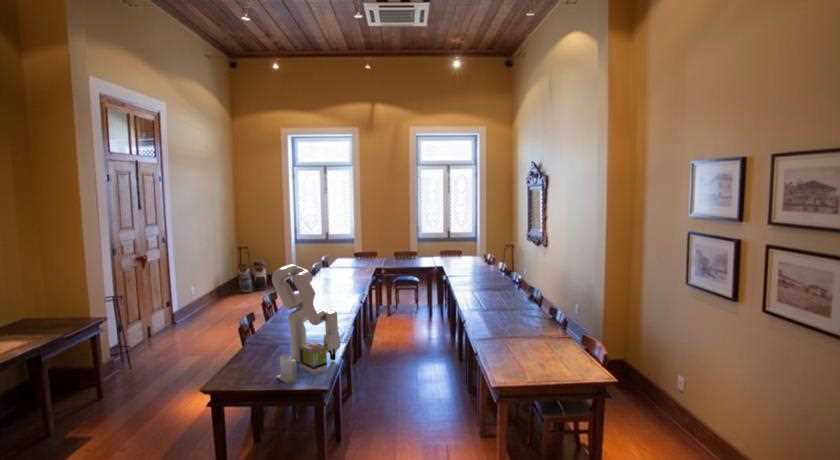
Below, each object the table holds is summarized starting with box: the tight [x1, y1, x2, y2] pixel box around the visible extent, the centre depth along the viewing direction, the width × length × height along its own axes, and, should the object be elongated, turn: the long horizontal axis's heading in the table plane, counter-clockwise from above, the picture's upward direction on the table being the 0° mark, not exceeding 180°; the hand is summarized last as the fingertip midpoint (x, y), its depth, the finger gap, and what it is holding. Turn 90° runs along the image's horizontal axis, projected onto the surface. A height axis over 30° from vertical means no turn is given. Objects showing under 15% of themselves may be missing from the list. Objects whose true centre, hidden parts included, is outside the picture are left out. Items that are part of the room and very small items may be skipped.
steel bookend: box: [275, 354, 298, 385], centre depth 261 cm, size 12×6×12 cm, turn 48°
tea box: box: [299, 340, 328, 375], centre depth 275 cm, size 15×10×15 cm, turn 44°
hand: (332, 359), depth 286 cm, fingers closed
